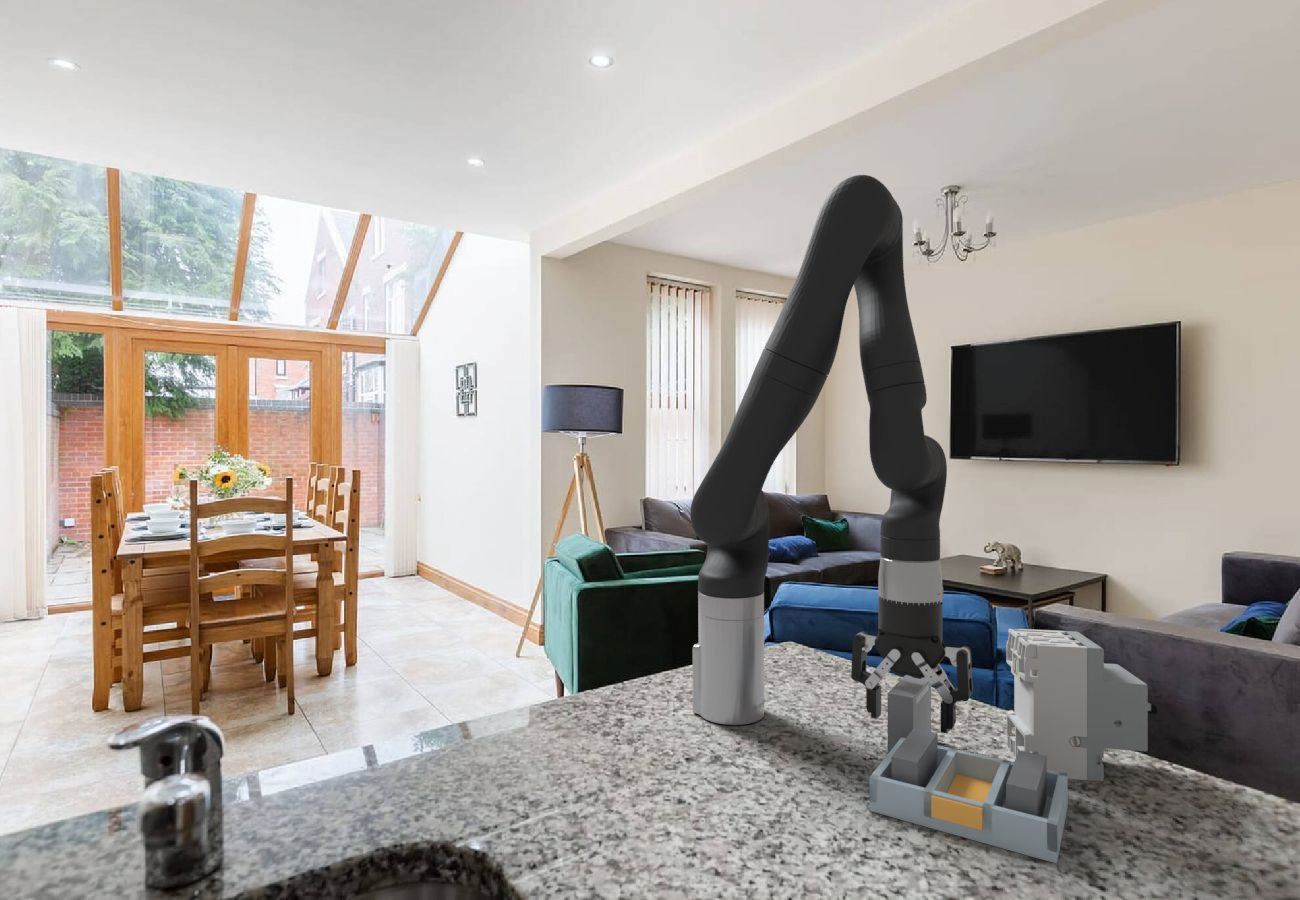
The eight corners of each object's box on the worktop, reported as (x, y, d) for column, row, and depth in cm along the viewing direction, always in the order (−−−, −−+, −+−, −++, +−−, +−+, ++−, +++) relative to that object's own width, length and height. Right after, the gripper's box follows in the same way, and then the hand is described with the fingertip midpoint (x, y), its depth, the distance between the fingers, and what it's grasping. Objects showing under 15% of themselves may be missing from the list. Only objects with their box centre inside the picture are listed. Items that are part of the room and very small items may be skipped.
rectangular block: (887, 759, 87) (887, 693, 87) (907, 734, 95) (907, 673, 95) (913, 765, 86) (913, 698, 85) (931, 739, 93) (931, 677, 93)
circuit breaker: (1164, 786, 80) (1164, 651, 80) (1024, 775, 83) (1025, 644, 83) (1133, 757, 87) (1133, 633, 87) (1006, 748, 90) (1006, 628, 90)
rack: (868, 811, 75) (868, 759, 75) (901, 766, 85) (901, 720, 85) (1056, 865, 65) (1056, 804, 65) (1067, 807, 75) (1067, 754, 75)
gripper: (843, 592, 91) (844, 721, 91) (965, 606, 83) (965, 747, 83) (862, 583, 97) (862, 703, 97) (977, 595, 89) (977, 726, 89)
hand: (910, 723), depth 90 cm, fingers open, 8 cm apart
